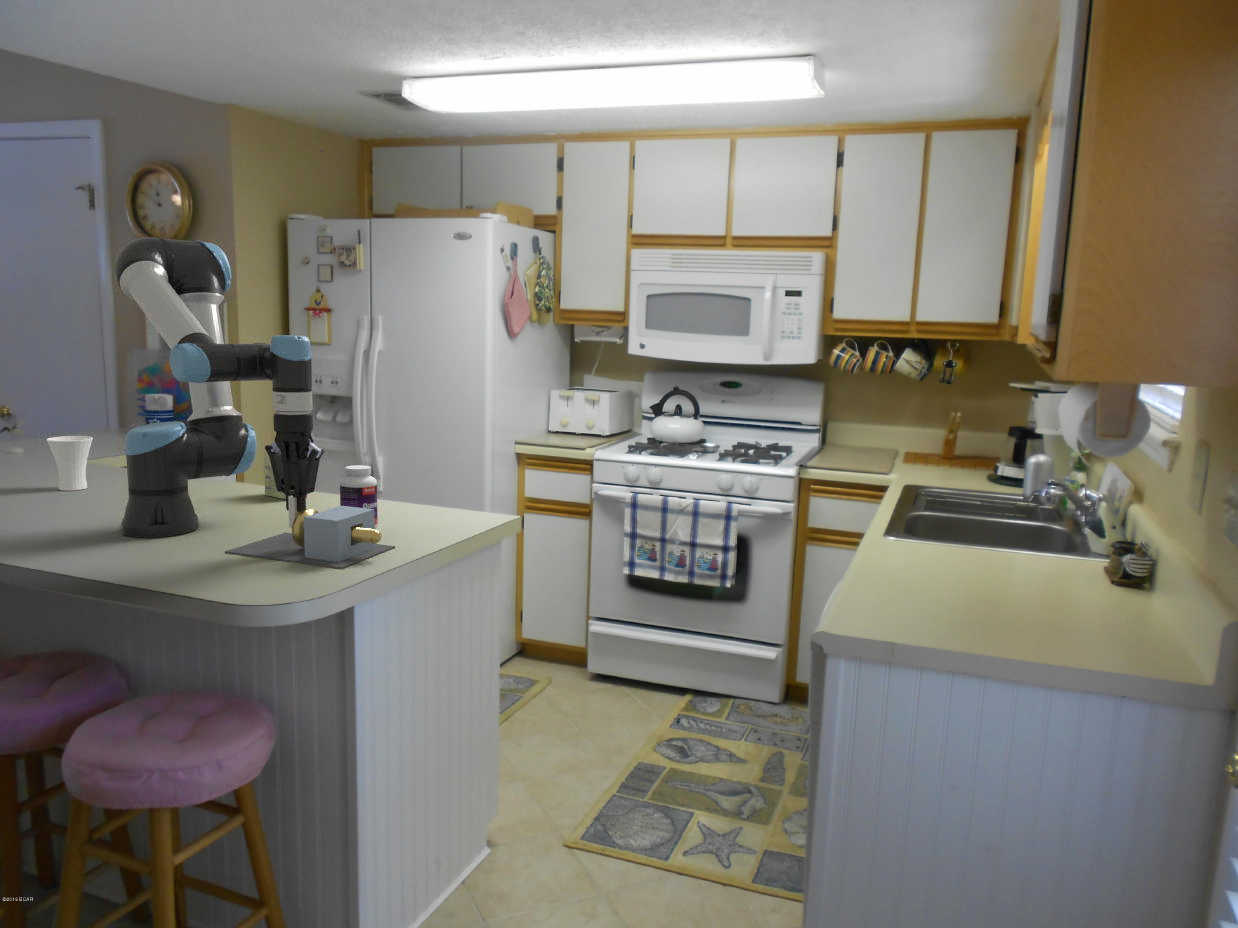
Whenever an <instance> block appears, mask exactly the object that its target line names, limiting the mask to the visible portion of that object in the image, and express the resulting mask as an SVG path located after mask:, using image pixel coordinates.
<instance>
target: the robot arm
mask: <svg viewBox="0 0 1238 928" xmlns="http://www.w3.org/2000/svg"><path fill="white" fill-rule="evenodd" d="M115 257H116V258H115V260H114V265H113V274H114V278H115V282H116V283H117V285H118V287H119V289H120V290H121V291H122V293H123V294H124V295H125V296H126V297H127V298H129V299H131V300H133V301H135V302H136V303H137V305H138V306H139V307H140V309H141V310H142V311H143V313H144V314H145V315H146V317H147V319H148V320H149V321H150V323H151V325H153V327H154V328H155V329H156V331H157V332H158V334H159V335H160V336H161V338H162V339H163V340H164V342H165V344H167V346H168V347H169V349H170V353H169V357H168V358H169V367H170V369H171V374H172V376H173V378H174V379H176V380H177V381H178V382H181V383H188V389H189V395H190V401H191V409H192V413H191V414H190V416H189V417H188V418H187V420H186V423H187V425H186V424H185V423H184V422H183V421H177V420H176V421H175V420H174V421H170V420H169V421H159V422H154V423H153V422H152V423H147V424H143V425H139V426H136V427H134V428H132V429H130V430H129V431H127V434H126V436H125V449H124V453H125V457H126V458H125V459H126V472H127V475H126V476H127V486H128V487H127V488H128V489H127V490H128V499H127V502H126V506H125V511H124V516H123V518H122V519H121V522H120V525H121V526H120V528H121V534H123V535H124V536H127V537H133V538H162V537H165V538H166V537H172V536H179V535H184V534H189V533H192V532H194V531H197V530H198V529H199V516H198V514H197V513H196V511H195V508H194V504H193V502H192V500H191V497H190V495H189V480H198V479H206V478H207V479H208V478H215V477H216V478H217V477H230V476H232V475H240V474H242V473H243V474H244V473H246V472H247V471H249V469H250V468H251V467H252V465H253V464H254V460H255V459H256V454H257V448H258V447H257V445H258V443H257V435H256V432H255V430H254V427H253V426H252V425H251V424H248V422H247V423H246V422H244V419H243V414H242V413H240V412H239V411H238V410H236V409H235V408H234V402H233V401H234V400H233V395H232V389H231V382H248V381H249V382H254V381H256V382H257V381H268V382H269V381H271V382H272V383H271V384H272V386H271V387H272V403H273V404H272V410H273V411H274V412H276V413H274V415H273V416H272V417H273V431H274V432H275V437H274V441H273V442H272V443H271V444H267V445H264V449H265V452H267V453H268V455H269V458H270V462H271V466H272V471H273V475H274V479H275V484H276V488H277V491H278V492H283V493H284V494H285V495H286V499H285V505H286V506H285V507H286V511H288V524H289V525H288V528H290V529H292V526H293V522H294V519H295V517H296V516H297V514H298V513H299V512H300V511H302V510H304V509H307V506H306V505H307V498H306V495H307V496H308V494H311V493H314V492H315V488H316V483H317V479H318V478H317V477H318V472H319V467H320V460H321V458H322V456H323V454H324V453H325V449H324V448H323V447H318V446H317V445H316V444H315V443H314V439H313V435H312V433H313V431H314V415H313V414H312V413H311V412H312V411H313V409H314V408H313V407H314V405H313V390H312V389H313V377H312V376H313V374H312V373H313V372H312V371H313V370H312V369H313V366H312V360H313V359H312V357H313V354H312V350H311V341H310V338H309V337H308V336H306V335H295V334H294V335H291V334H289V335H287V334H285V335H283V334H280V335H279V334H277V335H273V336H272V337H271V339H270V343H265V342H253V343H224V337H223V336H224V335H223V329H222V322H221V315H220V309H219V306H220V304H221V303H222V302H223V301H224V299H225V295H224V294H226V293H227V292H228V291H229V290H230V288H231V284H232V282H231V280H232V269H231V266H230V263H229V260H228V256H227V255H226V254H225V252H224V250H222V249H221V248H220V246H218V245H217V244H215V243H212V242H205V241H201V240H197V239H196V240H189V239H188V240H186V239H185V240H183V239H173V238H159V237H150V236H148V237H140V238H136V239H134V240H132V241H130V242H128V243H126V245H124V246H123V247H122V248H121V249H120V251H119V252H118V254H117V255H116V256H115ZM306 462H307V464H306Z"/></svg>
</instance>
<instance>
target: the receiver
mask: <svg viewBox="0 0 1238 928" xmlns="http://www.w3.org/2000/svg"><path fill="white" fill-rule="evenodd" d="M318 512H319V513H315V514H312V515H308V516H305V517H304V545H305V557H306V558H314V559H321V560H328V561H336V562H340V561H342V560H345V559H348V558H350V557H353V556H355V555H358V554H361V553H363V552H366V551H368V550H371V549H373V548H375V544H373V543H365V542H357V541H351V527H358V528H366V529H374V509H367V508H358V507H349V506H340V505H339V506H336V507H333V508H330V509H326V510H323V511H318ZM374 530H376V529H374Z"/></svg>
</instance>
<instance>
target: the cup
mask: <svg viewBox="0 0 1238 928" xmlns="http://www.w3.org/2000/svg"><path fill="white" fill-rule="evenodd" d="M93 439H94V438H93V436H88V435H65V436H55V437H48V438H46V441H47V444H48V446H49V449H50V451H51V453H52V455H53V458H54V460H55V461H54V462H55V465H56V467H57V471H58V473H57V474H58V479H59V481H58V490H60V491H66V492H67V491H69V492H70V491H80V490H85V489H88V483H87V462H88V459H89V454H90V449H91V446H92V443H93Z"/></svg>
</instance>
